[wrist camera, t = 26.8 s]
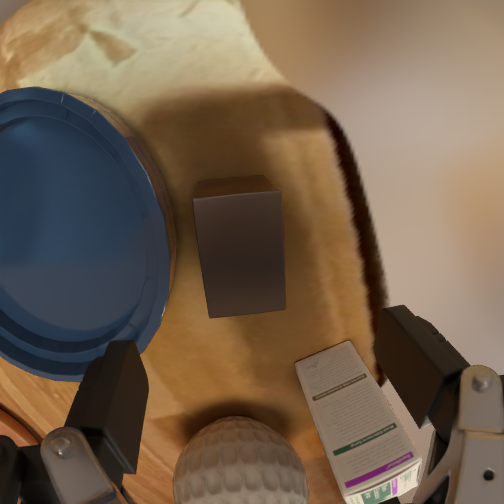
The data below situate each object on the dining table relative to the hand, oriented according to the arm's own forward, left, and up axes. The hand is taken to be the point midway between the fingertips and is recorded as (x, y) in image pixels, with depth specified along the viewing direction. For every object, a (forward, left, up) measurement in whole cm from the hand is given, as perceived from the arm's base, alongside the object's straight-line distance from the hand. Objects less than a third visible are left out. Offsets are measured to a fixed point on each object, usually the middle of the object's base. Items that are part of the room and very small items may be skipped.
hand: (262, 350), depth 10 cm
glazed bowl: (-1, -15, -14) cm, 21 cm away
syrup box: (+15, +8, -14) cm, 22 cm away
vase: (+23, -2, -14) cm, 27 cm away
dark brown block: (0, 0, -14) cm, 14 cm away
